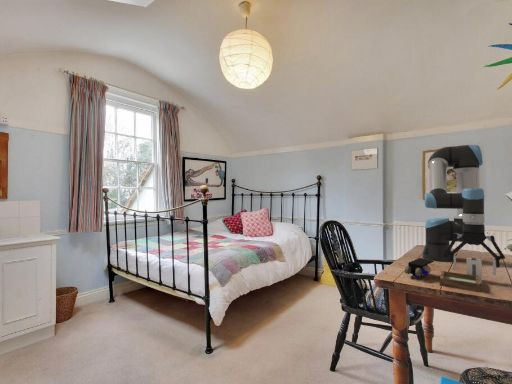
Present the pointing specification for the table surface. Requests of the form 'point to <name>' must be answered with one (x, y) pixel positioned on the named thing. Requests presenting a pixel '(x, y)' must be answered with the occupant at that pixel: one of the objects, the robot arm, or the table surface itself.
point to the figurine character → (418, 268)
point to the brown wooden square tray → (460, 281)
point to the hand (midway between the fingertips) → (474, 272)
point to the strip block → (474, 267)
